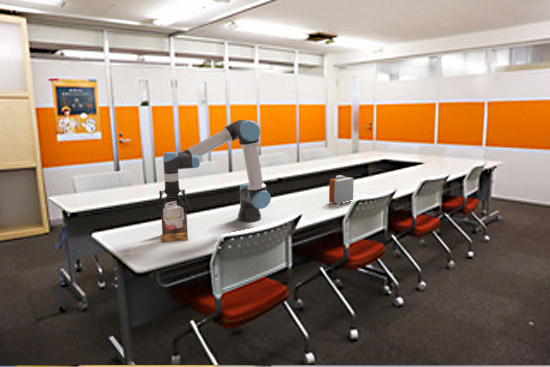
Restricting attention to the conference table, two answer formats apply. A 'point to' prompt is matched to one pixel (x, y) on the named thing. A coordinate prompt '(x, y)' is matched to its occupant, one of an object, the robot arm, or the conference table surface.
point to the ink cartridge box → (173, 216)
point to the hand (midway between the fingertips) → (173, 219)
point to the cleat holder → (174, 232)
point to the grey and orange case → (341, 189)
